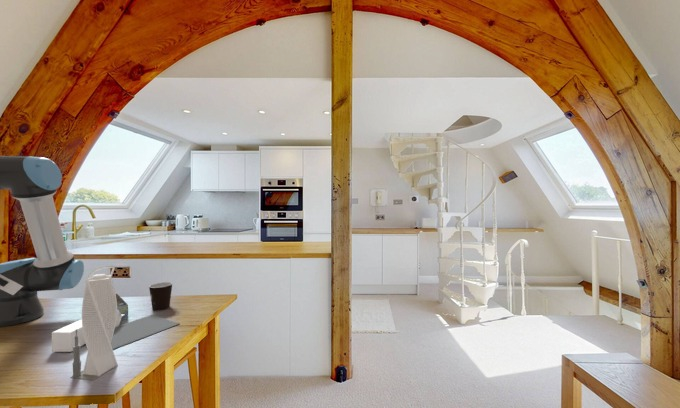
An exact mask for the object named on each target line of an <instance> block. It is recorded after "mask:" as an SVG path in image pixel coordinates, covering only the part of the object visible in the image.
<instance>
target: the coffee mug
mask: <svg viewBox="0 0 680 408" xmlns="http://www.w3.org/2000/svg"><path fill="white" fill-rule="evenodd" d="M148 288H149V295H150V302H151V309H152V311H156V312H157V311H158V310H159V311H164V310H167V309H170V307H171V300H172V299H171V298H172V290H173V289H172V288H173V282H170V281H165V282H156V283H152V284H150V285H148Z"/></svg>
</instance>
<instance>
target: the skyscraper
mask: <svg viewBox="0 0 680 408" xmlns="http://www.w3.org/2000/svg"><path fill="white" fill-rule="evenodd" d="M115 268H116V267H115V266H111V265H110V266H108V265H107V266H104V267H99V268H97V269H95V270H93V271H92V272H90V274H89V275H88V276H87V279H86V281H85V283H86V284H85V289H84V293H83V297H82V298H83V299H82V305H81V319H82V327H83V334H84V338H85V342H86V344H85V346H86V348H87V354H86V358H85V363H84V367H83V370H82V360H81V347H80V345H78V337H79V336H78V335H77V329H76V336H75V346H73V351H72V356H73V358H72V359H73V362H72V363H71V364H72V376H71V377H70V379H76V380H77V379H78V380H87V381H95V380H96V379H98V378H99V377H101V376H103V375H105V374H106V373H108V372H109V371H112V370H113V369H114V368H116V367H118V362H117V358H116V355H115V352H114V350H113V349H112V346H111V340H112V337H113V333H114V329H115V325H116V319H117V299H116V294H117V293H116V290H115V286H114V282H113V280H112V277H113V274H114V271H115ZM105 269H111V272H110V274H109V275H108V274H107V273H97V274H95V273H96V272H98V271H101V270H105Z"/></svg>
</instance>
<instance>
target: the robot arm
mask: <svg viewBox="0 0 680 408" xmlns="http://www.w3.org/2000/svg"><path fill="white" fill-rule="evenodd" d="M62 180H63V175H62V172H61V170H60V167H58V165H57V164H56V163H55V162H54V161H53V160H51V159H50V158H47V157H44V156H43V157H41V156H40V157H39V156H31V155H30V156H28V155H27V156H24V155H19V156H18V155H0V190H9V193H10V196H11V197H12V199H15V200H17V201H19V204H20V207H21V210H22V212H23V213H22V214H23V216H24V218H25V222H26V223H25V224H26V226H27V230H28V233H29V235H30V239H31V242H32V245H33V248H34V252H35V255H36V257H30V258H22V259H17V260H16V259H15V260H11V261H5V262H2V263H0V328H1V327H8V326H13V325H19V324H24V323H27V322H29V321H33V320H36V319H38V318H41V317H42V316H44V314H45V312H44V311H45V309H44V306H43V304H42V302H41V301H40V298H39V297H38V292H48V291H64V290H72V289H74V288H75V287H76V286H78V285H79V283H80V282H81V280H82V278H83V276H84V271H85V265H84V262H83V260H81V259H75V257H74V253H73V252H72V251H68V249H67V246H66V242H65V238H64V234H63V231H62V230H63V229H62V226H61V224H60V220H59V216H58V212H57V208H56V204H55V199H54V197H53V196H54V195H56V193H57V189H59V188H60V187H61V185H62Z"/></svg>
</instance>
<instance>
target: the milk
mask: <svg viewBox="0 0 680 408" xmlns="http://www.w3.org/2000/svg"><path fill="white" fill-rule="evenodd" d="M123 315H125V314H121V313H120V312H119V310H117V319H116V325H115V327H117V326H119V325H120V323H121V321H122V320H121V318H122V316H123ZM76 329H77V335H78V336H79V337H78V345H80V348H81V347H83V346H84V345H86V342H85V338H84V334H83V327H82V318H80V319H79V320H77V321H74V322H72V323H70V324H67V325H65V326H63V327H61V328H59V329H57V330H54V331H52V332H51V352H53V353H54V352H55V353H56V352H58V353H61V352H63V353H69V352H70V353H71V352H73V346H75V336H76Z"/></svg>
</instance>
